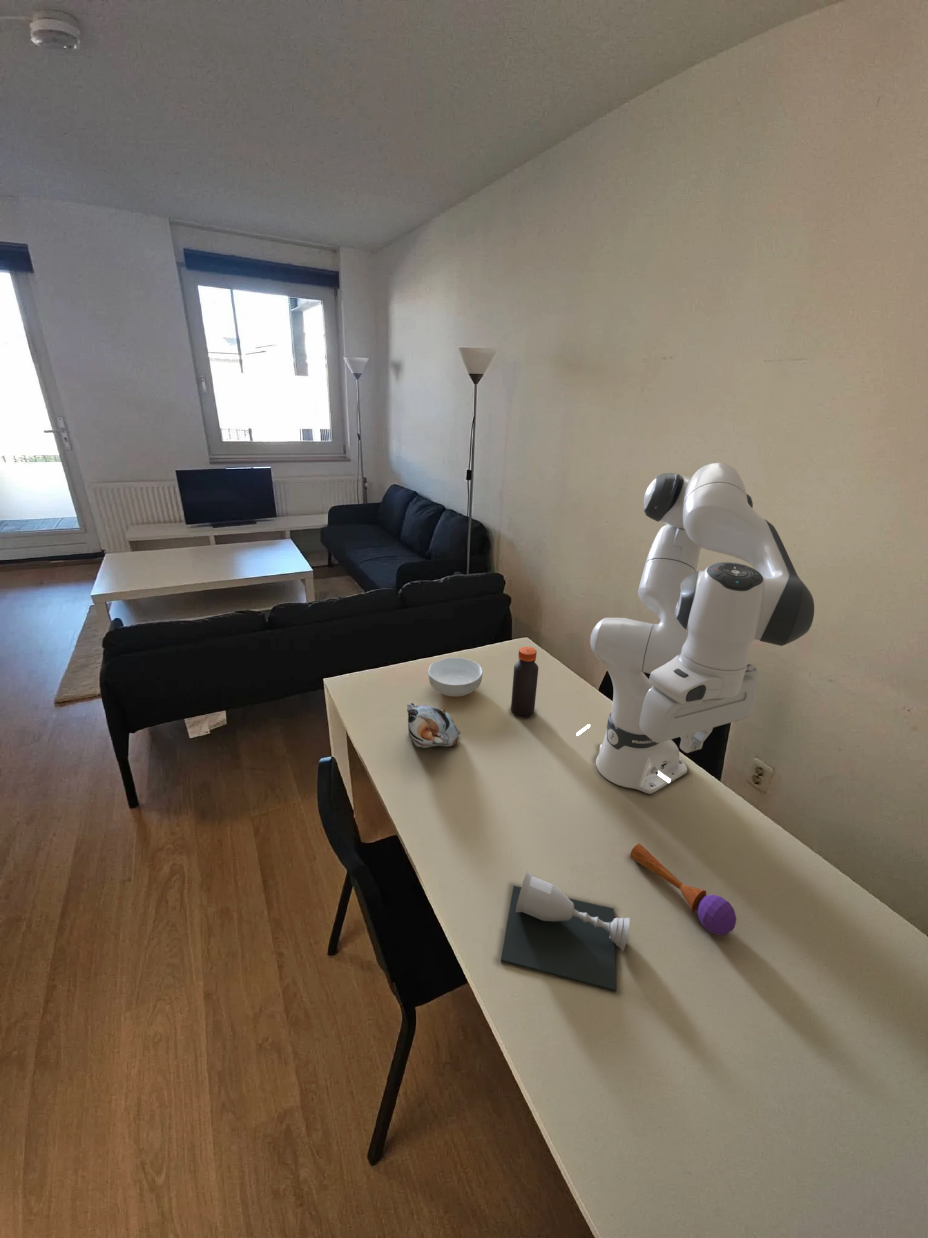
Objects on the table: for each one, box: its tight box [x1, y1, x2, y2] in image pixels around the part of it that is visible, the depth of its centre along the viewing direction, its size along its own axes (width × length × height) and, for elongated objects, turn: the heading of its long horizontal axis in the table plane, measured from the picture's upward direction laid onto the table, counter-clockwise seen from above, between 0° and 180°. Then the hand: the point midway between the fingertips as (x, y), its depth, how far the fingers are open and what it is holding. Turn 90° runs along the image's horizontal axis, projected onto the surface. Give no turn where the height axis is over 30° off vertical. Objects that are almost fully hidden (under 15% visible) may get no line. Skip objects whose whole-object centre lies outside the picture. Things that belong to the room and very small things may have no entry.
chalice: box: [515, 870, 630, 951], centre depth 86 cm, size 7×7×18 cm
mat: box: [500, 885, 617, 992], centre depth 86 cm, size 18×14×1 cm
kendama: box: [629, 843, 737, 936], centre depth 92 cm, size 6×6×20 cm
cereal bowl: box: [427, 656, 483, 697], centre depth 156 cm, size 17×17×7 cm
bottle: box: [510, 646, 539, 719], centre depth 143 cm, size 7×7×20 cm
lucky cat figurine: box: [406, 702, 461, 749], centre depth 130 cm, size 15×12×14 cm
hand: (690, 748), depth 80 cm, fingers closed
